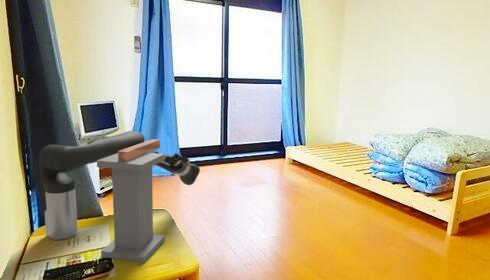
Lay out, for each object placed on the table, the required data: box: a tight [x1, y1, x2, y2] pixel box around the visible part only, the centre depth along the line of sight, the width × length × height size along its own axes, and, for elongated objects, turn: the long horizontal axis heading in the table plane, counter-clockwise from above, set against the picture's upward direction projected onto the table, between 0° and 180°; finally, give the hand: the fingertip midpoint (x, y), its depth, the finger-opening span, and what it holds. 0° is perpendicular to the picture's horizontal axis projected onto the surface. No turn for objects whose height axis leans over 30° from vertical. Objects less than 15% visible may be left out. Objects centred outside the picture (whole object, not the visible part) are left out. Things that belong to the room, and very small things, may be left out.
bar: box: [118, 138, 161, 161], centre depth 108 cm, size 3×22×3 cm, turn 169°
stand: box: [96, 152, 166, 264], centre depth 105 cm, size 15×15×32 cm
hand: (165, 154), depth 127 cm, fingers open, 8 cm apart
